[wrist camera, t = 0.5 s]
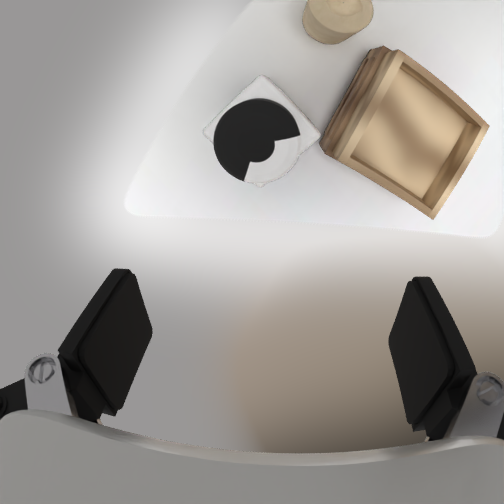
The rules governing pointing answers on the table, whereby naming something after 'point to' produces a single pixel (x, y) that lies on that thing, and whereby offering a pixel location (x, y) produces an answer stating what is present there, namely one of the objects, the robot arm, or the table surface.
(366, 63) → the base crate
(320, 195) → the table surface
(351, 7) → the candle
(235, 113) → the container
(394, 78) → the top crate
